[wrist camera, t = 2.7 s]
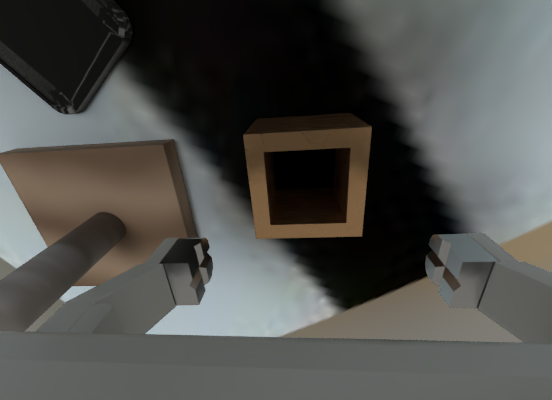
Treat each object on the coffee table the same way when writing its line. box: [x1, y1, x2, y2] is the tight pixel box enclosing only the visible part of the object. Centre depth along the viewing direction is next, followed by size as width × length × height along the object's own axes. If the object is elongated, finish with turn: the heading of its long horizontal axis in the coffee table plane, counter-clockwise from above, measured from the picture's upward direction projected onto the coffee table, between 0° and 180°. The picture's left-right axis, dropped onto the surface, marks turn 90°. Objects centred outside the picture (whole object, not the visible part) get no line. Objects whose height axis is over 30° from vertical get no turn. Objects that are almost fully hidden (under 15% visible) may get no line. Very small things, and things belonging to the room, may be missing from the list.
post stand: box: [0, 139, 197, 331], centre depth 16 cm, size 12×12×10 cm
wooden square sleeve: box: [243, 113, 372, 239], centre depth 15 cm, size 6×6×5 cm
